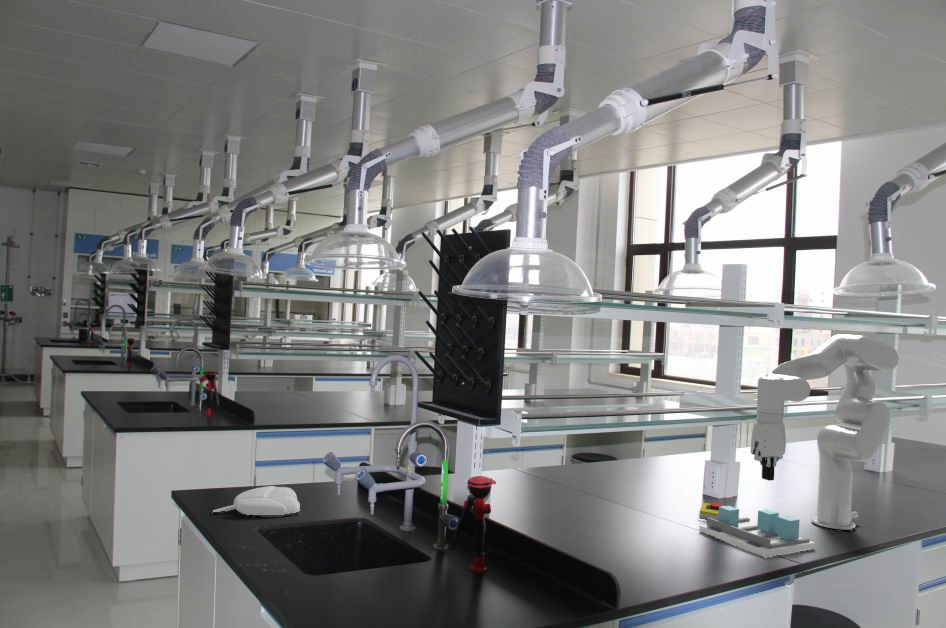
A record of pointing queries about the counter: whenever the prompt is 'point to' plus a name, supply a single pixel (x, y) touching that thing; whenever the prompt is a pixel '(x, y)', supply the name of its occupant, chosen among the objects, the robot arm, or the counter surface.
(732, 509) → the teal rectangular block
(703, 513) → the emergency button
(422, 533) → the counter surface
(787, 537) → the teal rectangular block
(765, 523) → the light teal block
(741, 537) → the white ridged tray
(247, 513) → the white computer mouse
